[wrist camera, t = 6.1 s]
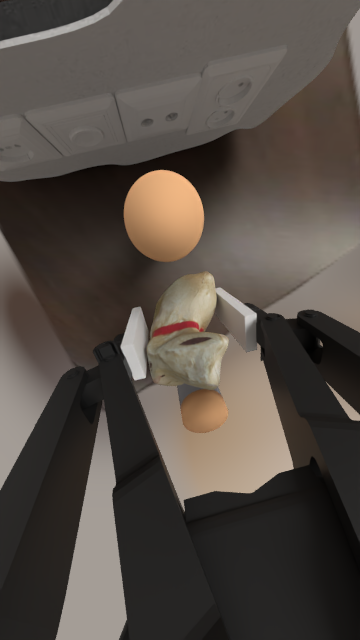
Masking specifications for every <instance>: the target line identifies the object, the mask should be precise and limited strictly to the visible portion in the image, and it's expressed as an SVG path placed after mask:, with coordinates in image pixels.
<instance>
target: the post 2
mask: <svg viewBox="0 0 360 640" xmlns="http://www.w3.org/2000/svg"><path fill="white" fill-rule="evenodd" d="M177 388H178V394H179V401H180V408H181V414H182V420H183V425H184V426H185V427H186V429H188V430H189V431H192V432H195V433H206V432H210V431H213V430H215V429H217V428H219V427H220V426H221V425H222V424H223V423H224V422H225V421H226V419H227V417H228V409H227V407H226V404H225V402H224V400H223V397H222V395H221V393H220V391H219V388H218V387H217V388H216V389H214V390H207V389H203V388H199V387H195V386H191V385H188V384H185V383H184V384H182V385H178V386H177Z"/></svg>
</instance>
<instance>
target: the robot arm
mask: <svg viewBox="0 0 360 640" xmlns="http://www.w3.org/2000/svg"><path fill="white" fill-rule="evenodd" d="M215 290H216V296H217V302H216V308H215V313H216V316H217V317H218V318H219V320H220V321H221V322H222V323H223V325H224V326H225V327H226V328H227V329H228V331H229V332H230V333H231V334H232V335H233V337H234V338H235V339H236V340H237V342H238V343H239V344H240V345H241V346H242V347H243V349H244V350H245V351H246V352H250V351H254V350H257V343H258V344H259V345H260V346H261V361H262V360H263V361H264V365H265V368H266V372H267V375H268V379H269V382H270V385H271V389H272V392H273V396H274V399H275V403H276V406H277V409H278V413H279V416H280V420H281V423H282V426H283V430H284V433H285V437H286V440H287V444H288V447H289V451H290V454H291V457H292V461H293V467H294V469H293V470H289V471H285V472H282V473H279V474H277V475H276V476H275V477H273V478H272V479H271V480H269V481H268V482H267V483H265V484H264V485H263V486H261V487H260V488H259V489H258V490H256V491H255V492H253V493H233V492H219V491H214V492H210V493H207V494H203V495H200V496H196V497H193V498H189V499H186V500H184V506H185V512H184V510H183V508H182V505H181V503H180V501H179V498H178V496H177V493H176V491H175V488H174V485H173V483H172V481H171V478H170V475H169V473H168V470H167V468H166V465H165V463H164V460H163V458H162V455H161V453H160V450H159V448H158V445H157V443H156V440H155V438H154V435H153V433H152V430H151V428H150V425H149V423H148V420H147V418H146V415H145V412H144V410H143V408H142V405H141V402H140V400H139V398H138V395H137V392H136V390H135V387H134V385H133V382H132V380H131V378H132V376H133V378H134V380H139V379H143V378H146V367H147V350H146V348H147V344H148V334H149V331H148V328H147V325H146V322H145V319H144V316H143V312H142V309H141V307H136V308H133V309H132V312H131V315H130V318H129V321H128V325H127V328H126V331H125V333H123V334H119V335H117V336H116V337H115V338H114V341H107V342H104V343H101V344H99V345H98V346H97V347H95V348H94V350H93V353H94V355H95V357H96V359H97V361H98V363H99V365H98V366H97V367H95V368H92V369H90V370H88V371H86V369H85V368H84V367H81V366H80V367H75V368H72V369H70V370H69V371H67V372H66V373H65V374H64V375H63V376H62V377H61V379H60V380H59V382H58V384H57V386H56V388H55V390H54V392H53V393H52V396H51V397H50V399H49V401H48V403H47V405H46V407H45V408H44V410H43V412H42V414H41V416H40V418H39V419H38V421H37V423H36V425H35V427H34V429H33V431H32V433H31V434H30V436H29V438H28V440H27V442H26V444H25V446H24V448H23V449H22V451H21V453H20V455H19V457H18V459H17V461H16V462H15V464H14V466H13V468H12V470H11V472H10V474H9V475H8V477H7V479H6V481H5V483H4V485H3V487H2V488H1V490H0V640H55V639H56V635H57V632H58V627H59V622H60V618H61V614H62V609H63V605H64V600H65V596H66V590H67V585H68V580H69V574H70V569H71V564H72V559H73V553H74V548H75V542H76V538H77V532H78V527H79V522H80V517H81V511H82V506H83V501H84V496H85V490H86V485H87V480H88V475H89V469H90V464H91V459H92V453H93V448H94V443H95V438H96V433H97V427H98V422H99V417H100V411H101V406H102V400H103V399H104V403H105V410H106V417H107V423H108V430H109V436H110V444H111V449H112V457H113V463H114V470H115V477H116V486H115V488H113V494H112V497H113V508H114V516H115V524H116V532H117V541H118V549H119V557H120V565H121V573H122V581H123V589H124V597H125V605H126V614H127V621H126V623H125V626H124V628H123V631H122V633H121V636H120V638H119V640H360V421H354V420H351V419H350V418H349V417H348V415H347V414H346V413H345V411H344V409H343V408H342V406H341V405H340V403H339V402H338V400H337V398H336V397H335V395H334V394H333V392H332V391H331V389H330V388H329V386H328V385H327V383H328V384H329V385H330V386H331V387H332V388H333V389H334V390H335V391H336V392H337V393H338V394H339V395H340V396H341V397H342V398H343V399H345V401H346V402H348V404H350V406H352V407H353V408H354V409H355V410H356V411H357V412H358V413H359V414H360V333H359V332H358V331H356V330H354V329H352V328H350V327H348V326H346V325H344V324H342V323H341V322H339V321H337V320H335V319H333V318H331V317H329V316H327V315H325V314H323V313H322V312H319V311H314V310H303V311H300V312H299V313H298V315H297V318H296V319H285V318H284V317H283V316H282V315H279V314H275V313H269V314H267V313H266V312H264V311H262V310H261V309H259V308H258V307H256V306H255V305H253V304H250V303H245V304H243V303H241V302H240V301H238V300H237V299H236V298H234V297H233V296H231V295H230V294H229V293H227V292H226V291H224V290H223V289H222V288H216V289H215ZM320 340H321V342H322V343H323V347H322V346H321V345H320ZM325 381H326V382H327V383H326V382H325Z"/></svg>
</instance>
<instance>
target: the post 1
mask: <svg viewBox="0 0 360 640" xmlns="http://www.w3.org/2000/svg"><path fill="white" fill-rule="evenodd" d="M124 222H125V227H126V230H127V233H128V235H129V237H130V240H131V241H132V243H133V244H134V245H135V247H136V248H137V249H138V250H139V251H140V252H141V253H142V254H144V255H145V256H147V257H149V258H151V259H153V260H156V261H161V262H171V261H176V260H179V259H181V258H183V257H184V256H186V255H187V254H189V253H190V252H191V251H192V250H193V249H194V247H195V246H196V245H197V243H198V241H199V239H200V237H201V234H202V231H203V225H204V211H203V206H202V202H201V199H200V197H199V195H198V193H197V191H196V190H195V188H194V187H193V185H192V184H191V183H190V182H189V181H188V180H187V179H185V178H184V177H183V176H181V175H179V174H177V173H175V172H172V171H167V170H157V171H152V172H149V173H147V174H145V175H143V176H142V177H140V178H139V179H138V180H137V181H136V182H135V183H134V184H133V186H132V187H131V189H130V191H129V192H128V195H127V197H126V201H125V205H124Z"/></svg>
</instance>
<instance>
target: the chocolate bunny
mask: <svg viewBox="0 0 360 640" xmlns="http://www.w3.org/2000/svg"><path fill="white" fill-rule="evenodd" d="M216 302H217V296H216V290H215V282H214V278H213V276H212V275H211V274H210V273H209V272H207V271H205V272H201V273H198V274H188V275H185V276H183V277H181V278H179V279H177V280H176V281H175V282H174V283H173V284H172V285H171V286H170V287H169V288H168V289H167V290H166V291H164V293H163V295H162V296H161V297H160V299H159V301H158V302H157V304H156V308H155V314H154V318H153V324H152V327H151V331H150V339H151V340H150V341H149V343H148V344H147V348H146V350H147V357H148V362H149V367H150V373H151V376H152V380H153V382H154V383H156V384H159V385H167V386H178V385H182V384H184V383H185V384H188V385H191V386H195V387H199V388H203V389H207V390H214V389H216V388H217V387H218V385H219V382H220V369H221V360H222V357H223V355H224V354H225V352H226V350H227V347H228V342H229V339H228V338H227V337H226V336H225V335H222V334H216V333H210V332H204V331H205V330H206V328H207V326H208V324H209V323H210V321H211V319H212V316H213V314H214V311H215V308H216Z"/></svg>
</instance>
